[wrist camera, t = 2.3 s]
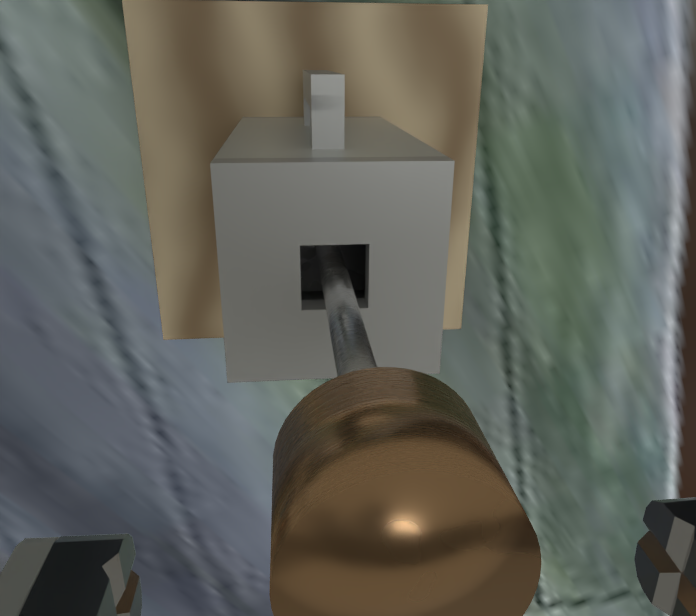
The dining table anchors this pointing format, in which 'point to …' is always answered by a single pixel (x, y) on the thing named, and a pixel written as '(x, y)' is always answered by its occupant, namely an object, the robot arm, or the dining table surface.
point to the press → (329, 236)
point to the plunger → (389, 486)
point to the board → (287, 112)
